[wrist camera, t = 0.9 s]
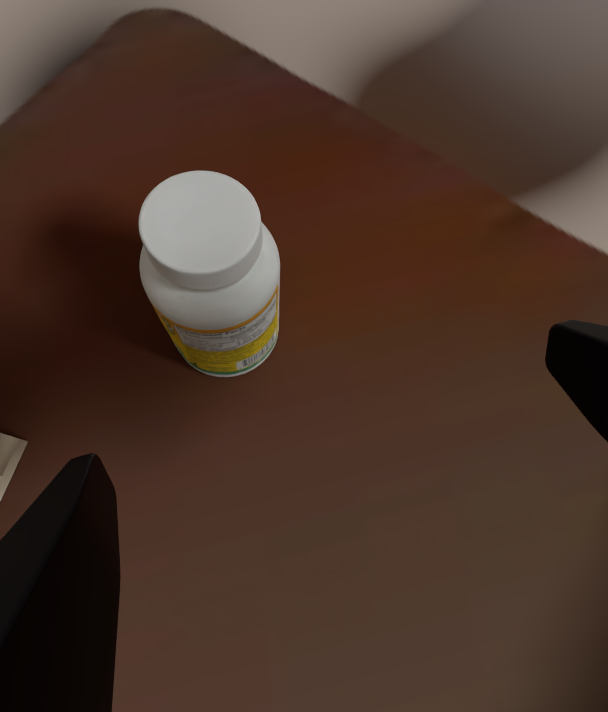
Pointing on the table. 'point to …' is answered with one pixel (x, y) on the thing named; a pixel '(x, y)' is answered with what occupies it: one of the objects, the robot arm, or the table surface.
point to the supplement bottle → (211, 271)
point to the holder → (9, 458)
